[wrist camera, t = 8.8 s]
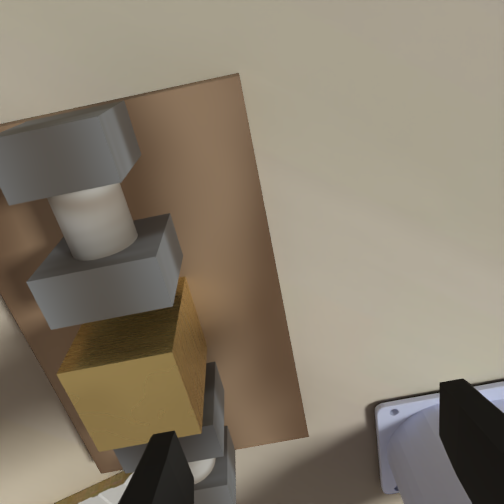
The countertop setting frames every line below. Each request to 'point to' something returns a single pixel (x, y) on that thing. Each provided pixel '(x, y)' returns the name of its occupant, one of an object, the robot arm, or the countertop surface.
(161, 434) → the robot arm
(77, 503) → the baseboard molding
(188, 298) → the block
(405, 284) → the countertop surface
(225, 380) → the shaft base
